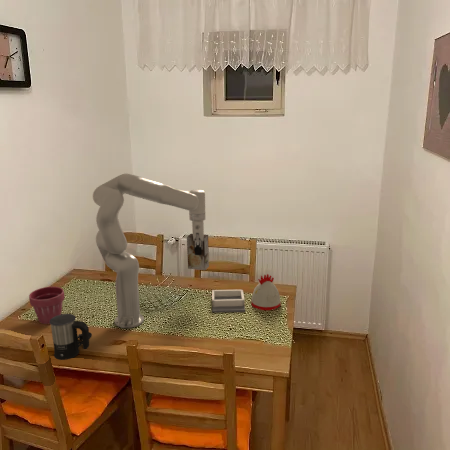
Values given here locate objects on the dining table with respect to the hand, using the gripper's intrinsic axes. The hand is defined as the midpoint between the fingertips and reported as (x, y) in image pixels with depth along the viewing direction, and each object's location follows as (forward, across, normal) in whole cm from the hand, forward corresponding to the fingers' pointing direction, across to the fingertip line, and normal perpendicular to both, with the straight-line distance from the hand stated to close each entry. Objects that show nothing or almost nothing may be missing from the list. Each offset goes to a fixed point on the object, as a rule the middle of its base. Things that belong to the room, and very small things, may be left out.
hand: (198, 251), depth 213 cm
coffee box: (+8, 0, 0) cm, 8 cm away
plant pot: (+24, -18, +66) cm, 73 cm away
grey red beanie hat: (+24, -9, -32) cm, 41 cm away
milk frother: (+24, -44, +49) cm, 70 cm away
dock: (+24, -7, -14) cm, 28 cm away
